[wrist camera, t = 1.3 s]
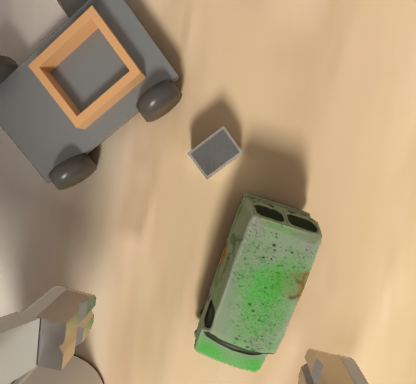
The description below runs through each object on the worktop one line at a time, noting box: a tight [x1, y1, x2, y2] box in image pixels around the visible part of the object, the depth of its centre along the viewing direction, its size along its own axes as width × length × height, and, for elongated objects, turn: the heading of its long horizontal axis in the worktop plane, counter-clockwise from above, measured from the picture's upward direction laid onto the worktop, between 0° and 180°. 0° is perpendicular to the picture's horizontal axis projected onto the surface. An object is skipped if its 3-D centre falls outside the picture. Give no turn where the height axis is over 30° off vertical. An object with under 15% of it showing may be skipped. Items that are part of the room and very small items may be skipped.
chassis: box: [0, 0, 182, 190], centre depth 33 cm, size 24×18×6 cm
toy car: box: [194, 193, 322, 372], centre depth 34 cm, size 11×25×10 cm, turn 163°
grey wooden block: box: [188, 126, 243, 179], centre depth 34 cm, size 6×4×5 cm
